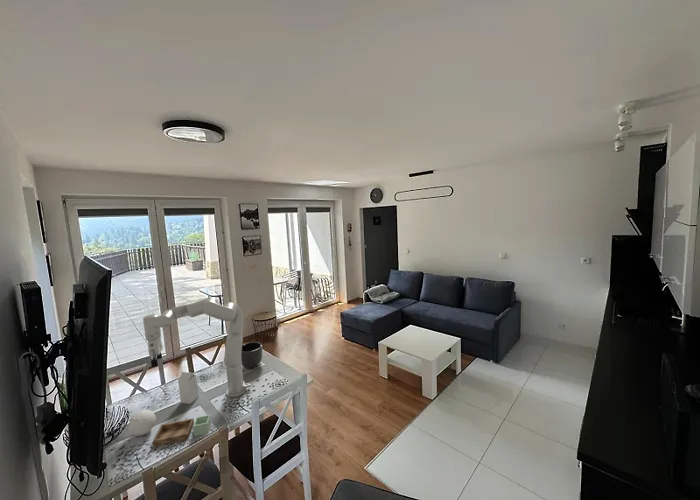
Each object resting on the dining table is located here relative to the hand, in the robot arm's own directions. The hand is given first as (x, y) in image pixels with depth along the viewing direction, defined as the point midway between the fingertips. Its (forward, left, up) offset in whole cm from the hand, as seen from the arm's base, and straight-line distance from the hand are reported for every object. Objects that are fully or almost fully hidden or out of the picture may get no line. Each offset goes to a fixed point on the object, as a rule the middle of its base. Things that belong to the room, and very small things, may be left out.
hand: (156, 362), depth 173 cm
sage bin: (-28, +28, -30) cm, 50 cm away
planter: (-50, -33, -30) cm, 67 cm away
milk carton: (-14, -3, -30) cm, 33 cm away
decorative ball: (+3, +20, -30) cm, 36 cm away
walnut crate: (-14, +27, -30) cm, 43 cm away
